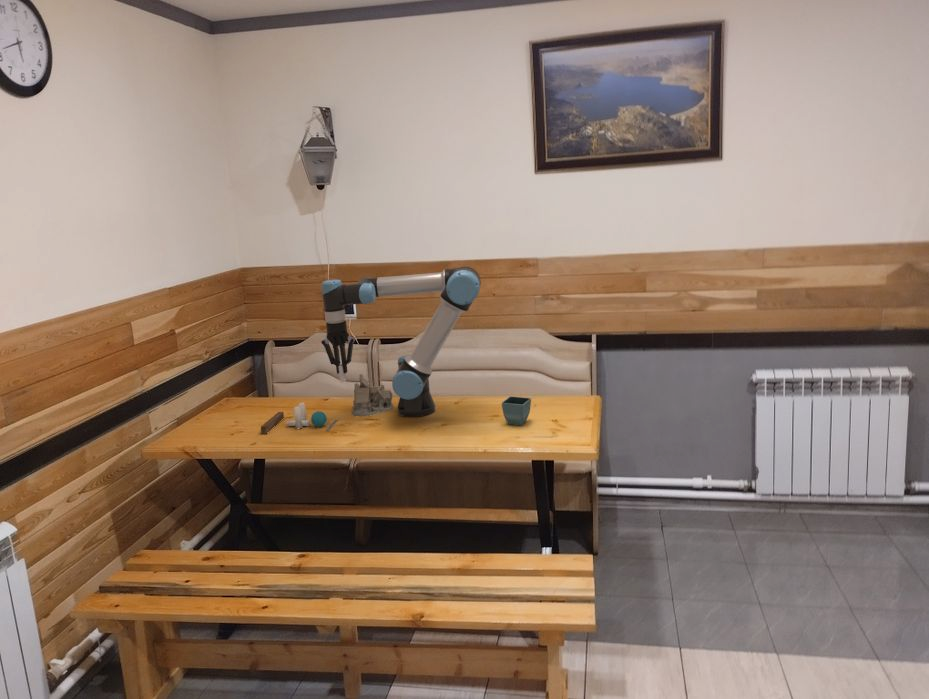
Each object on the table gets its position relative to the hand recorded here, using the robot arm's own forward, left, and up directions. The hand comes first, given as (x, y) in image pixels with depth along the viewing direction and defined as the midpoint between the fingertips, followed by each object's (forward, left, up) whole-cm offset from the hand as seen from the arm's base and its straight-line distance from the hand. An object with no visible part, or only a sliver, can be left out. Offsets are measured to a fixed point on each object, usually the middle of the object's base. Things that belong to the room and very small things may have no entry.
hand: (343, 381), depth 298 cm
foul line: (+6, +1, -18) cm, 18 cm away
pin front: (+15, +1, -16) cm, 23 cm away
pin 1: (+18, +4, -18) cm, 26 cm away
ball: (+11, +2, -15) cm, 18 cm away
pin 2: (+18, -1, -18) cm, 25 cm away
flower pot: (-66, -1, -18) cm, 68 cm away
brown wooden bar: (+30, +1, -18) cm, 35 cm away
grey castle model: (-5, -18, -18) cm, 26 cm away
